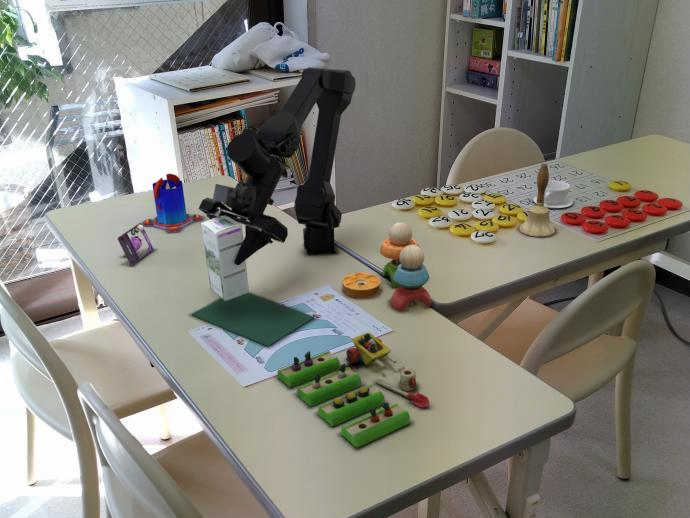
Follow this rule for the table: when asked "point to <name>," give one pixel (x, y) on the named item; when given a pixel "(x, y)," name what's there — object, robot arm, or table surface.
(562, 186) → the teacup
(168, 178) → the fantasy tower
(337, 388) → the toy garden set
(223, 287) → the syrup box
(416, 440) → the table surface
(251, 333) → the green mat
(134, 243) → the game card
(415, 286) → the wooden stacking toy
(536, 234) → the hand bell
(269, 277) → the table surface
